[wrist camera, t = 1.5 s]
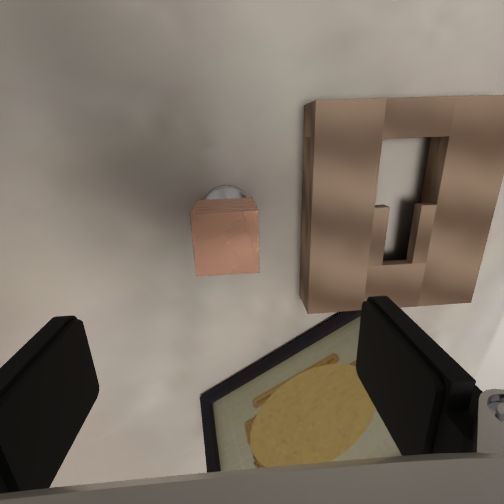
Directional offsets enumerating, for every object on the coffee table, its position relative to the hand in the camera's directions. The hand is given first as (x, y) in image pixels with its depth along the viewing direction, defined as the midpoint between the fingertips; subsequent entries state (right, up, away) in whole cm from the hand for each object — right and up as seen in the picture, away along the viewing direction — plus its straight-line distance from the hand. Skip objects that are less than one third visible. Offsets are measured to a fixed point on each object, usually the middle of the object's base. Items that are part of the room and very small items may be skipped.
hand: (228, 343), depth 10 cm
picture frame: (+7, -11, +25) cm, 28 cm away
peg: (-1, +7, +18) cm, 19 cm away
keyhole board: (+14, +7, +19) cm, 24 cm away
